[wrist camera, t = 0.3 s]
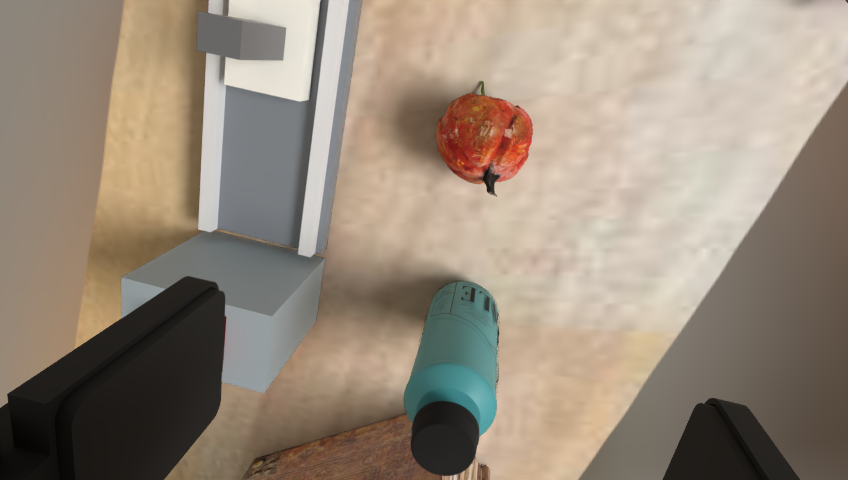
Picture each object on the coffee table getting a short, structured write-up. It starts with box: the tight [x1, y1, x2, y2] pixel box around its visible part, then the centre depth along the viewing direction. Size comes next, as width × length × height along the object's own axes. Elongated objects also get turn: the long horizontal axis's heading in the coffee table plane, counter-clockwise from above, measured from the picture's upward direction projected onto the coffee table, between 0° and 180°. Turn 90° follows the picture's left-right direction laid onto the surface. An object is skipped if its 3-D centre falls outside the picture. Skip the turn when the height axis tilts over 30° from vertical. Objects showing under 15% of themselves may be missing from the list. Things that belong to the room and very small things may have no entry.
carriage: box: [196, 0, 321, 102], centre depth 37 cm, size 8×6×9 cm
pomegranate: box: [436, 81, 533, 196], centre depth 40 cm, size 7×7×10 cm
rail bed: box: [198, 0, 362, 257], centre depth 44 cm, size 22×12×3 cm, turn 169°
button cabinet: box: [121, 231, 325, 393], centre depth 45 cm, size 7×12×12 cm, turn 79°
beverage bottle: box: [404, 281, 499, 476], centre depth 39 cm, size 6×7×20 cm
